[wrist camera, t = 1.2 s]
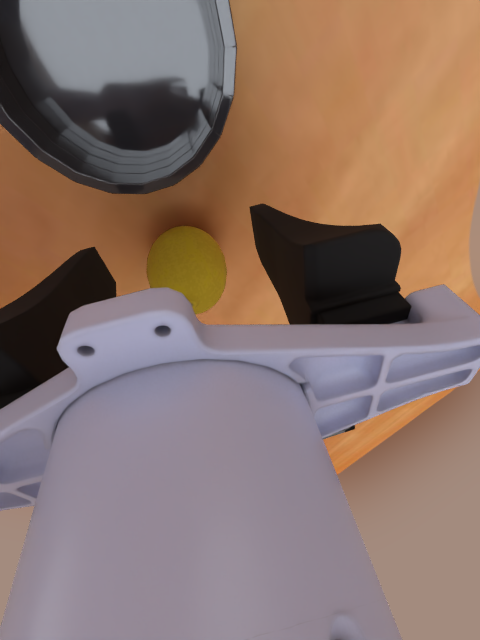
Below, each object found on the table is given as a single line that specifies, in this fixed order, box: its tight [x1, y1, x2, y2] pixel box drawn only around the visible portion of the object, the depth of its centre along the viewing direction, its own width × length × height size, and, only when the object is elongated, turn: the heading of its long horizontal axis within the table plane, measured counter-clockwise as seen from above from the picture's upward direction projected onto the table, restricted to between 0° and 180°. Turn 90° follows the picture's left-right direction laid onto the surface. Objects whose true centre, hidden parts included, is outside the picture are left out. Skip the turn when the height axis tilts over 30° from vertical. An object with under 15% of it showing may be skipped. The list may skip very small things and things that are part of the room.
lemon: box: [147, 226, 227, 315], centre depth 21 cm, size 6×6×8 cm
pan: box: [0, 0, 237, 194], centre depth 14 cm, size 12×12×4 cm
